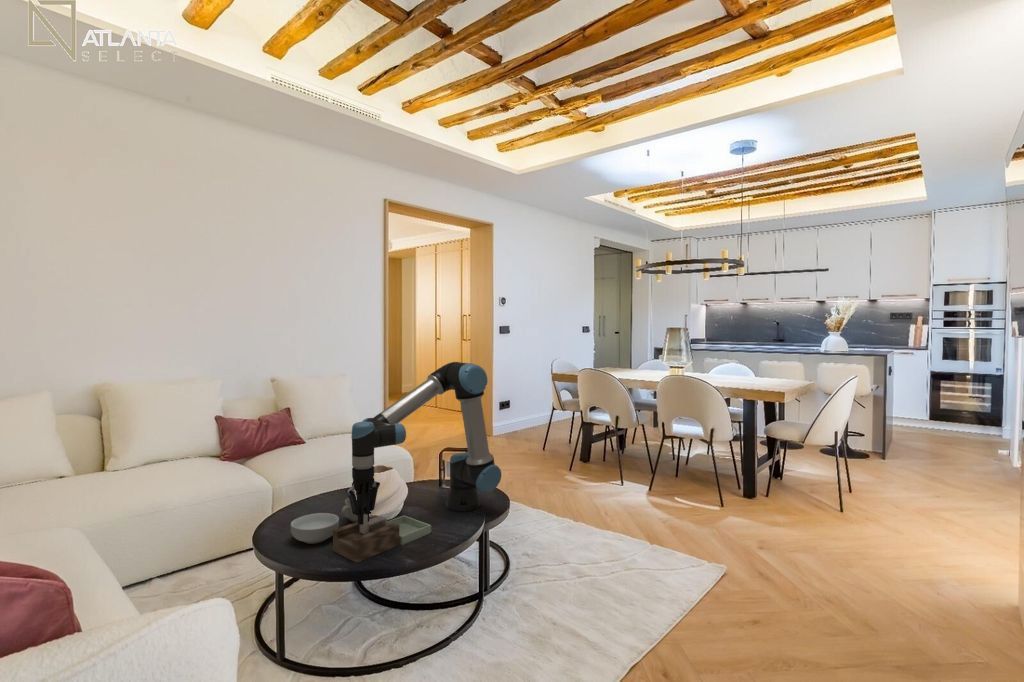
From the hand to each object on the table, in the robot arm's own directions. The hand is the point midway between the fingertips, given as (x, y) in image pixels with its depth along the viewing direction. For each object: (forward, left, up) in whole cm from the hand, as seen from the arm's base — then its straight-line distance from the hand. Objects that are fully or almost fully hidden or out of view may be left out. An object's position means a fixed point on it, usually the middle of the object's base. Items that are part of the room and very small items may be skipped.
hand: (363, 532), depth 183 cm
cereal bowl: (+6, -21, -6) cm, 23 cm away
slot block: (-1, 0, -6) cm, 6 cm away
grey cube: (-7, 0, -1) cm, 7 cm away
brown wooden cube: (-3, 0, -1) cm, 3 cm away
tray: (-18, 0, -6) cm, 19 cm away
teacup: (-14, -25, -6) cm, 29 cm away
